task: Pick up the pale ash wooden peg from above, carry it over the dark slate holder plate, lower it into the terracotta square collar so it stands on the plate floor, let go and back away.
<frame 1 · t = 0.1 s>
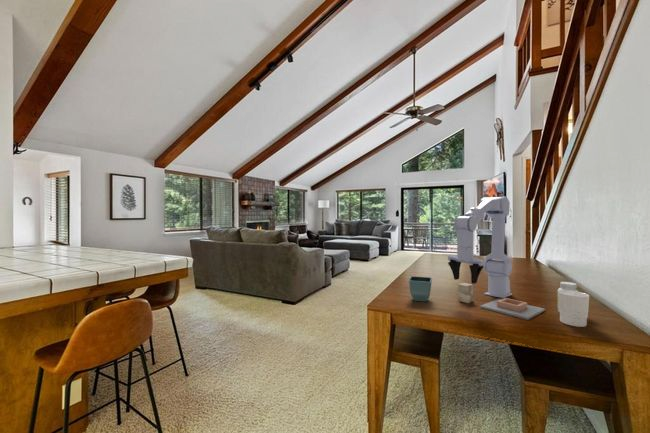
hand: (465, 281, 114), 10 cm above the table, tool pointing down, fingers open, 7 cm apart
pill bottle: (568, 313, 106), on the table
flower pot: (420, 300, 123), on the table
holder: (511, 309, 111), on the table
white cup: (573, 323, 97), on the table
peg: (465, 300, 121), on the table
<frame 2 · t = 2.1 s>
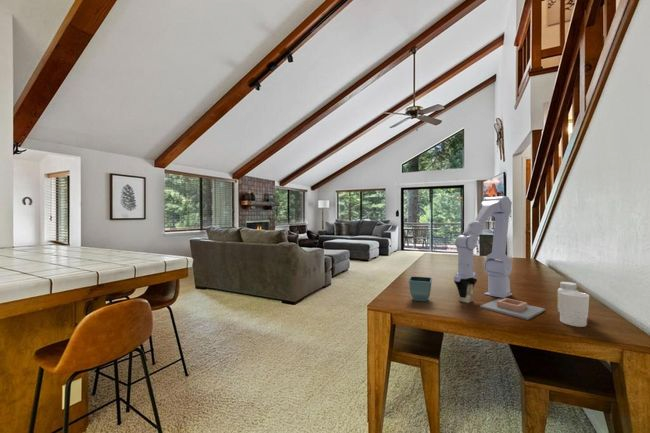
hand: (465, 296, 121), 2 cm above the table, tool pointing down, fingers closed on peg, 4 cm apart
peg: (465, 300, 121), on the table, touching gripper
everything else where it was.
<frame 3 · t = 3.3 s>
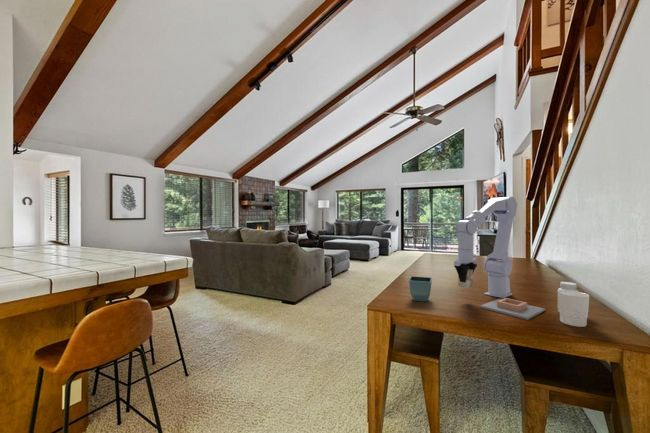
hand: (465, 281, 121), 8 cm above the table, tool pointing down, fingers closed on peg, 4 cm apart
peg: (465, 286, 121), point 6 cm above the table, touching gripper
everything else where it was.
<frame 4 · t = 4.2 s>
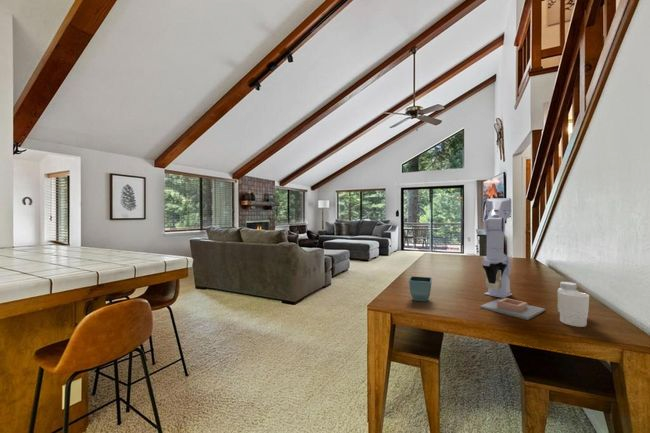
hand: (494, 282, 114), 9 cm above the table, tool pointing down, fingers closed on peg, 4 cm apart
peg: (493, 287, 115), point 7 cm above the table, touching gripper
everything else where it was.
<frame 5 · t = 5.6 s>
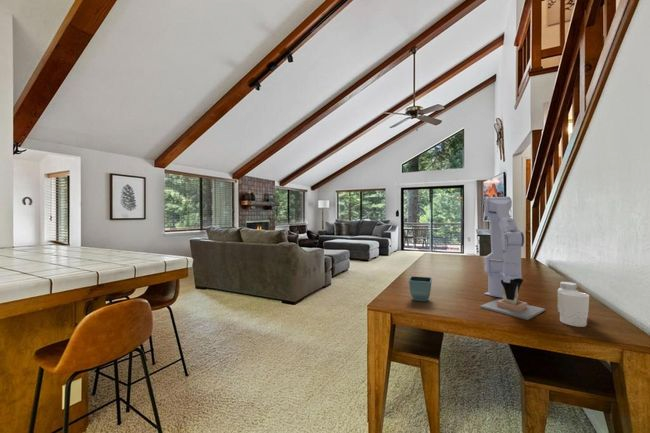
hand: (512, 298, 111), 4 cm above the table, tool pointing down, fingers closed on peg, 4 cm apart
peg: (510, 304, 111), point 2 cm above the table, touching gripper
everything else where it was.
when the fingers open (4 cm above the table, at t = 6.5 s): peg stays where it is, resting on holder.
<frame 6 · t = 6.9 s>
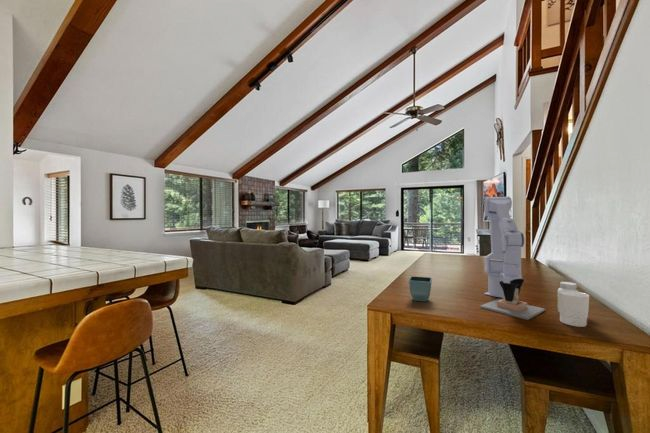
hand: (512, 299, 111), 4 cm above the table, tool pointing down, fingers open, 7 cm apart
peg: (510, 306, 111), point 1 cm above the table, touching holder
everything else where it was.
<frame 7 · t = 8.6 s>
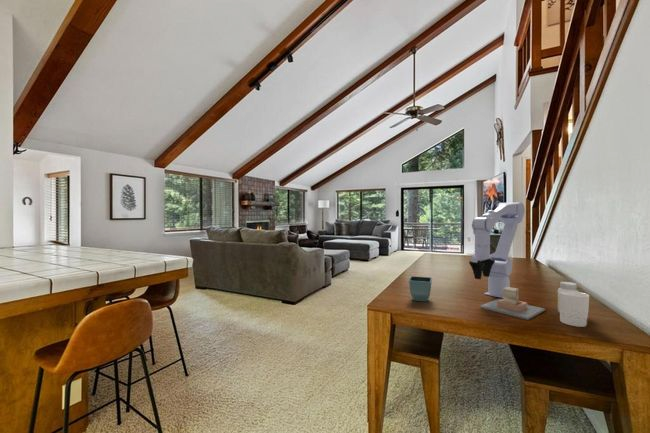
hand: (482, 277, 123), 9 cm above the table, tool pointing down, fingers open, 7 cm apart
nothing on the table moved.
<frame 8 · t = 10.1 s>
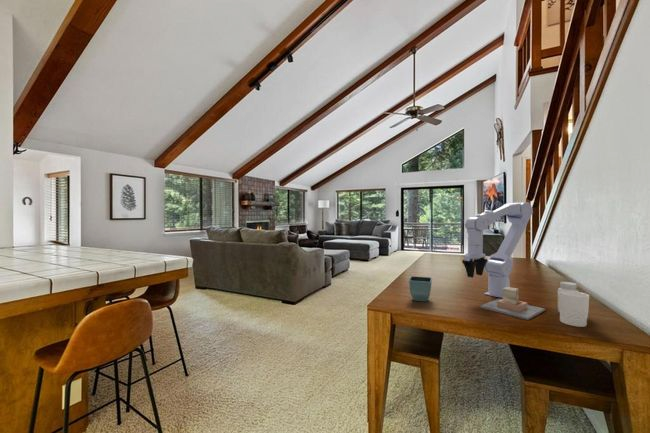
hand: (474, 276, 126), 9 cm above the table, tool pointing down, fingers open, 7 cm apart
nothing on the table moved.
at the end: peg 0.4 cm off-centre on the holder, point 0.8 cm above the holder's base; peg tilted 0°; the gripper is holding nothing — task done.
